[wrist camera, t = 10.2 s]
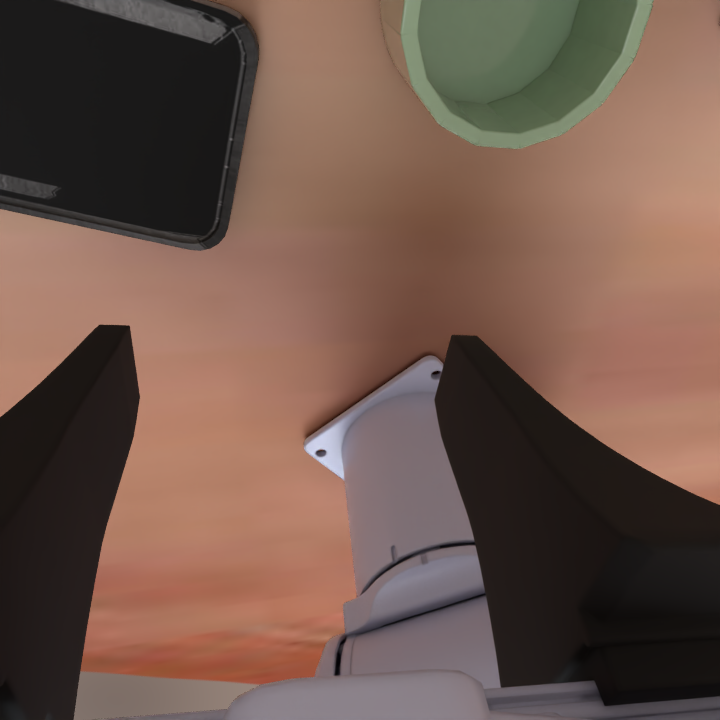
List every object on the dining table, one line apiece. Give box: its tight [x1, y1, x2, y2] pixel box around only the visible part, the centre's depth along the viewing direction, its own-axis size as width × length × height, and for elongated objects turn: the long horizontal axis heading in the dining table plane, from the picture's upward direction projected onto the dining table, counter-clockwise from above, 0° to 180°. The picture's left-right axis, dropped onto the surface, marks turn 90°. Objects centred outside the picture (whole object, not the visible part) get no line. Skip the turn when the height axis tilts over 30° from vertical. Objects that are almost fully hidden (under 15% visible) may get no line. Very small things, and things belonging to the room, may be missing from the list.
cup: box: [380, 0, 653, 149], centre depth 17 cm, size 6×6×4 cm
